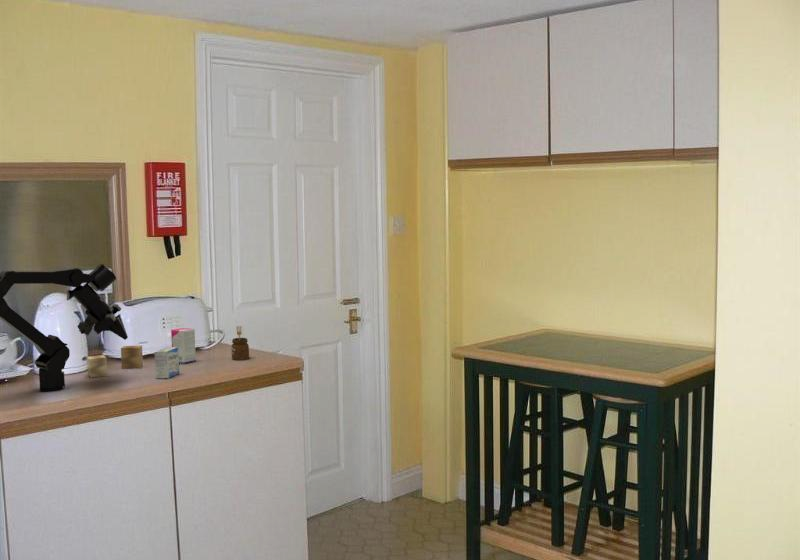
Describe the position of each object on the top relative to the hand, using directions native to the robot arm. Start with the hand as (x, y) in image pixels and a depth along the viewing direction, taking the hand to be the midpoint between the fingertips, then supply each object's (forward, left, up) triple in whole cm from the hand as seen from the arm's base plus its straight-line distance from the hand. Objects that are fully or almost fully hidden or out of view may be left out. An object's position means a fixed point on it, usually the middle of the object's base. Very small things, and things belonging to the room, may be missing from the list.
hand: (126, 338), depth 269 cm
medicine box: (+12, 0, -13) cm, 18 cm away
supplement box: (+19, +21, -13) cm, 31 cm away
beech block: (-9, +10, -13) cm, 19 cm away
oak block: (+2, +19, -13) cm, 23 cm away
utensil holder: (+38, +19, -13) cm, 44 cm away
